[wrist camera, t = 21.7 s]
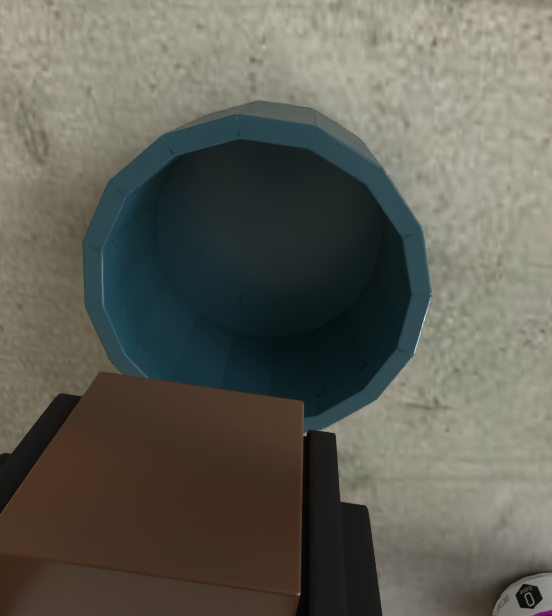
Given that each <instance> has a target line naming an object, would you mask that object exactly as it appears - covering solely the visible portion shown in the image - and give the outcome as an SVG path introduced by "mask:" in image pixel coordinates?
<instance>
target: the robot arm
mask: <svg viewBox="0 0 552 616" xmlns="http://www.w3.org/2000/svg"><path fill="white" fill-rule="evenodd" d="M81 398H82V396H76V395H69V394H63V393H61V394H58V395H57V396H56V397H55V398H54V400H53V401H52V402H51V404H50V405H49V406H48V407H47V409H46V410H45V411H44V413H43V414H42V415H41V416H40V418H39V419H38V420H37V422H36V423H35V424H34V425H33V427H32V428H31V429H30V431H29V432H28V433H27V434H26V436H25V437H24V438H23V440H22V441H21V442H20V443H19V445H18V446H17V447H16V449H15V450H14V451H13V452H12V454H9V453H3V454H1V455H0V514H1V513H2V511H3V510H4V508H5V507H6V505H7V504H8V503H9V501H10V500H11V498H12V497H13V495H14V494H15V493H16V491H17V490H18V488H19V487H20V485H21V484H22V482H23V481H24V480H25V478H26V477H27V475H28V474H29V472H30V471H31V470H32V468H33V467H34V465H35V464H36V462H37V461H38V460H39V458H40V457H41V455H42V454H43V452H44V451H45V450H46V448H47V447H48V445H49V444H50V442H51V441H52V439H53V438H54V437H55V435H56V434H57V432H58V431H59V429H60V428H61V427H62V425H63V424H64V422H65V421H66V419H67V418H68V417H69V415H70V414H71V412H72V411H73V409H74V408H75V407H76V405H77V404H78V402H79V401H80V399H81ZM295 616H382V609H381V601H380V593H379V586H378V578H377V571H376V563H375V556H374V548H373V540H372V533H371V525H370V518H369V512H368V509H367V507H366V506H365V505H358V504H351V503H345V502H340V490H339V476H338V461H337V447H336V435H335V433H329V432H323V431H316V430H308V432H307V436H303V481H302V538H301V594H300V598H299V602H298V607H297V611H296V615H295Z"/></svg>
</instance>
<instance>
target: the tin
mask: <svg viewBox="0 0 552 616" xmlns="http://www.w3.org/2000/svg"><path fill="white" fill-rule="evenodd" d="M83 269H84V298H85V308H86V310H87V312H88V315H89V317H90V319H91V321H92V323H93V325H94V328H95V330H96V332H97V334H98V336H99V338H100V340H101V343H102V345H103V347H104V349H105V351H106V353H107V356H108V358H109V360H110V361H111V363H112V364H113V365H114V366H115V367H116V368H117V369H118V370H119V371H120V372H121V373H122V374H123V375H129V376H136V377H142V378H149V379H156V380H163V381H170V382H177V383H183V384H190V385H197V386H204V387H211V388H218V389H224V390H231V391H238V392H245V393H252V394H259V395H266V396H272V397H279V398H286V399H293V400H300V401H303V403H304V424H303V433H305V432H308V430H316V431H317V430H322V429H324V428H327V427H329V426H330V425H332V424H334V423H336V422H338V421H339V420H341V419H343V418H345V417H347V416H349V415H350V414H352V413H354V412H356V411H358V410H359V409H361V408H363V407H365V406H367V405H368V404H370V403H372V402H374V401H375V400H377V399H378V398H379V396H380V395H381V394H382V393H383V392H384V390H385V389H386V388H387V387H388V386H389V384H390V383H391V382H392V381H393V380H394V378H395V377H396V376H397V375H398V374H399V372H400V371H401V370H402V369H403V368H404V366H405V365H406V364H407V363H408V362H409V361H410V359H411V358H412V357H413V356H414V353H415V351H416V347H417V344H418V340H419V337H420V334H421V330H422V327H423V324H424V320H425V317H426V314H427V310H428V307H429V304H430V300H431V297H432V295H431V293H432V290H431V283H430V276H429V269H428V262H427V256H426V249H425V242H424V235H423V230H422V227H421V225H420V224H419V222H418V221H417V219H416V217H415V216H414V214H413V213H412V211H411V210H410V208H409V207H408V205H407V204H406V202H405V201H404V199H403V198H402V196H401V195H400V193H399V192H398V190H397V189H396V187H395V185H394V184H393V182H392V181H391V179H390V178H389V176H388V175H387V173H386V172H385V170H384V169H383V167H382V166H381V165H380V163H379V162H378V161H377V160H376V158H375V157H374V156H373V154H372V153H371V152H370V150H369V149H368V148H367V146H366V145H365V144H364V142H363V141H362V140H361V139H360V138H359V137H357V136H356V135H354V134H353V133H351V132H349V131H348V130H346V129H345V128H343V127H342V126H341V125H339V124H338V123H336V122H334V121H333V120H331V119H329V118H328V117H326V116H324V115H323V114H321V113H320V112H318V111H317V110H315V109H314V110H313V109H312V108H306V107H299V106H294V105H289V104H282V103H272V102H266V101H254V102H250V103H247V104H243V105H239V106H236V107H232V108H229V109H225V110H222V111H218V112H215V113H211V114H208V115H205V116H203V117H201V118H198V119H196V120H194V121H192V122H190V123H187V124H185V125H183V126H181V127H179V128H176V129H174V130H172V131H170V132H168V133H166V134H164V135H162V136H160V137H159V138H158V139H157V140H156V141H155V142H153V143H152V144H151V145H150V146H149V147H148V148H147V149H145V150H144V151H143V152H142V153H141V154H140V155H139V156H137V157H136V158H135V159H134V160H133V161H132V162H130V163H129V164H128V165H127V166H126V167H125V168H124V169H122V170H121V171H120V172H119V173H118V174H117V175H116V176H114V177H113V178H112V179H111V180H110V181H109V182H108V183H107V186H106V188H105V191H104V193H103V195H102V198H101V200H100V202H99V205H98V207H97V209H96V212H95V214H94V216H93V219H92V221H91V223H90V226H89V228H88V230H87V233H86V235H85V238H84V240H83Z"/></svg>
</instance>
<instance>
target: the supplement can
mask: <svg viewBox="0 0 552 616" xmlns="http://www.w3.org/2000/svg"><path fill="white" fill-rule="evenodd" d="M493 616H552V573H540V574H536V575H532V576H528V577H524V578H522V579H520V580H518V581H517V582H515V583H513V584H511V585H510V586H509V587H508V588H507V589H506V590H505V591H504V592H503V593H502V594H501V596H500V599H499V600H498V601H497V603H496V605H495V608H494V610H493Z"/></svg>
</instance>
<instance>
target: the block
mask: <svg viewBox="0 0 552 616" xmlns="http://www.w3.org/2000/svg"><path fill="white" fill-rule="evenodd" d="M303 424H304V403H303V401H300V400H293V399H286V398H279V397H272V396H266V395H259V394H252V393H245V392H238V391H231V390H224V389H218V388H211V387H204V386H197V385H190V384H183V383H177V382H170V381H163V380H156V379H149V378H142V377H136V376H129V375H122V374H115V373H108V372H99V374H98V375H97V376H96V378H95V379H94V381H93V382H92V384H91V385H90V386H89V388H88V389H87V391H86V392H85V394H84V395H83V396H82V398H81V399H80V401H79V402H78V404H77V405H76V407H75V408H74V409H73V411H72V412H71V414H70V415H69V417H68V418H67V419H66V421H65V422H64V424H63V425H62V427H61V428H60V429H59V431H58V432H57V434H56V435H55V437H54V438H53V439H52V441H51V442H50V444H49V445H48V447H47V448H46V450H45V451H44V452H43V454H42V455H41V457H40V458H39V460H38V461H37V462H36V464H35V465H34V467H33V468H32V470H31V471H30V472H29V474H28V475H27V477H26V478H25V480H24V481H23V482H22V484H21V485H20V487H19V488H18V490H17V491H16V493H15V494H14V495H13V497H12V498H11V500H10V501H9V503H8V504H7V505H6V507H5V508H4V510H3V511H2V513H1V514H0V616H295V615H296V611H297V607H298V602H299V598H300V594H301V538H302V481H303Z"/></svg>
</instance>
